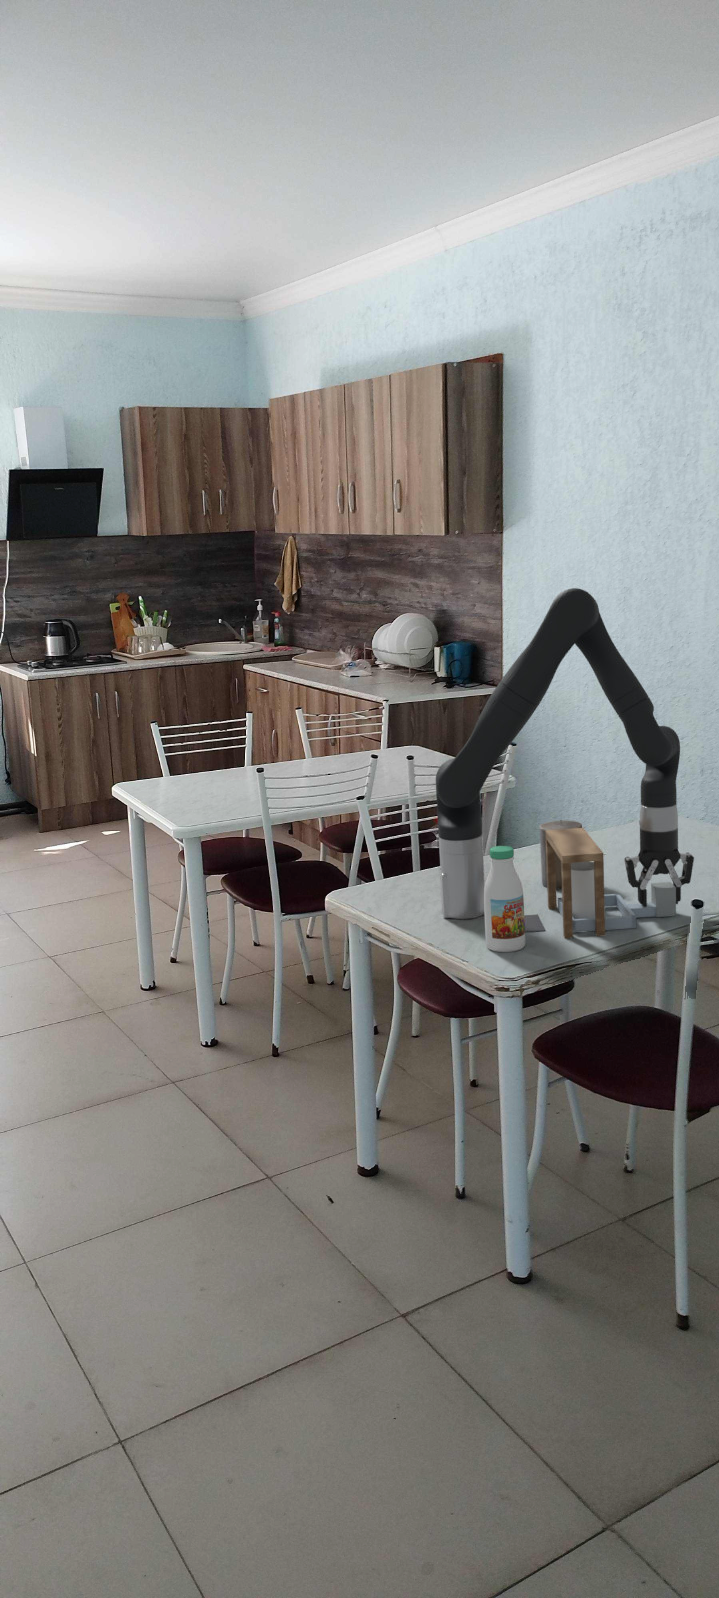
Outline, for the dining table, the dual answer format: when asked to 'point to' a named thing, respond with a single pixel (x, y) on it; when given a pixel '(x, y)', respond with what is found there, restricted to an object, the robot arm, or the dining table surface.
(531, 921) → the gray flat slab
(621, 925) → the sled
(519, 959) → the dining table surface
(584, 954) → the dining table surface
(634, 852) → the dining table surface
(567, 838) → the tunnel
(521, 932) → the milk bottle
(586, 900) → the mug
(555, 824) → the pillar candle
